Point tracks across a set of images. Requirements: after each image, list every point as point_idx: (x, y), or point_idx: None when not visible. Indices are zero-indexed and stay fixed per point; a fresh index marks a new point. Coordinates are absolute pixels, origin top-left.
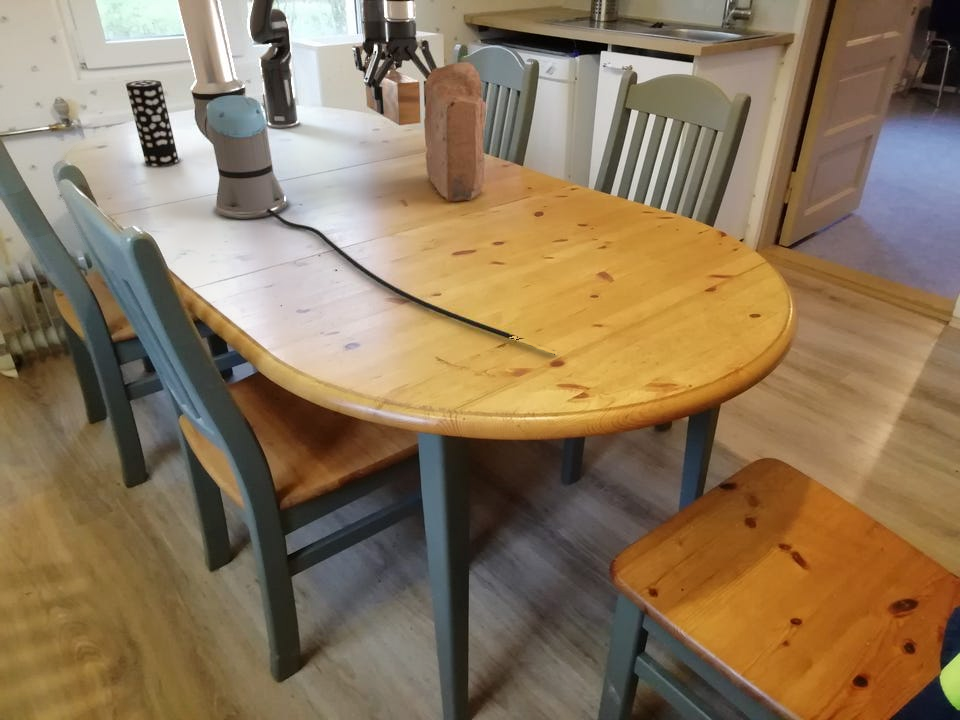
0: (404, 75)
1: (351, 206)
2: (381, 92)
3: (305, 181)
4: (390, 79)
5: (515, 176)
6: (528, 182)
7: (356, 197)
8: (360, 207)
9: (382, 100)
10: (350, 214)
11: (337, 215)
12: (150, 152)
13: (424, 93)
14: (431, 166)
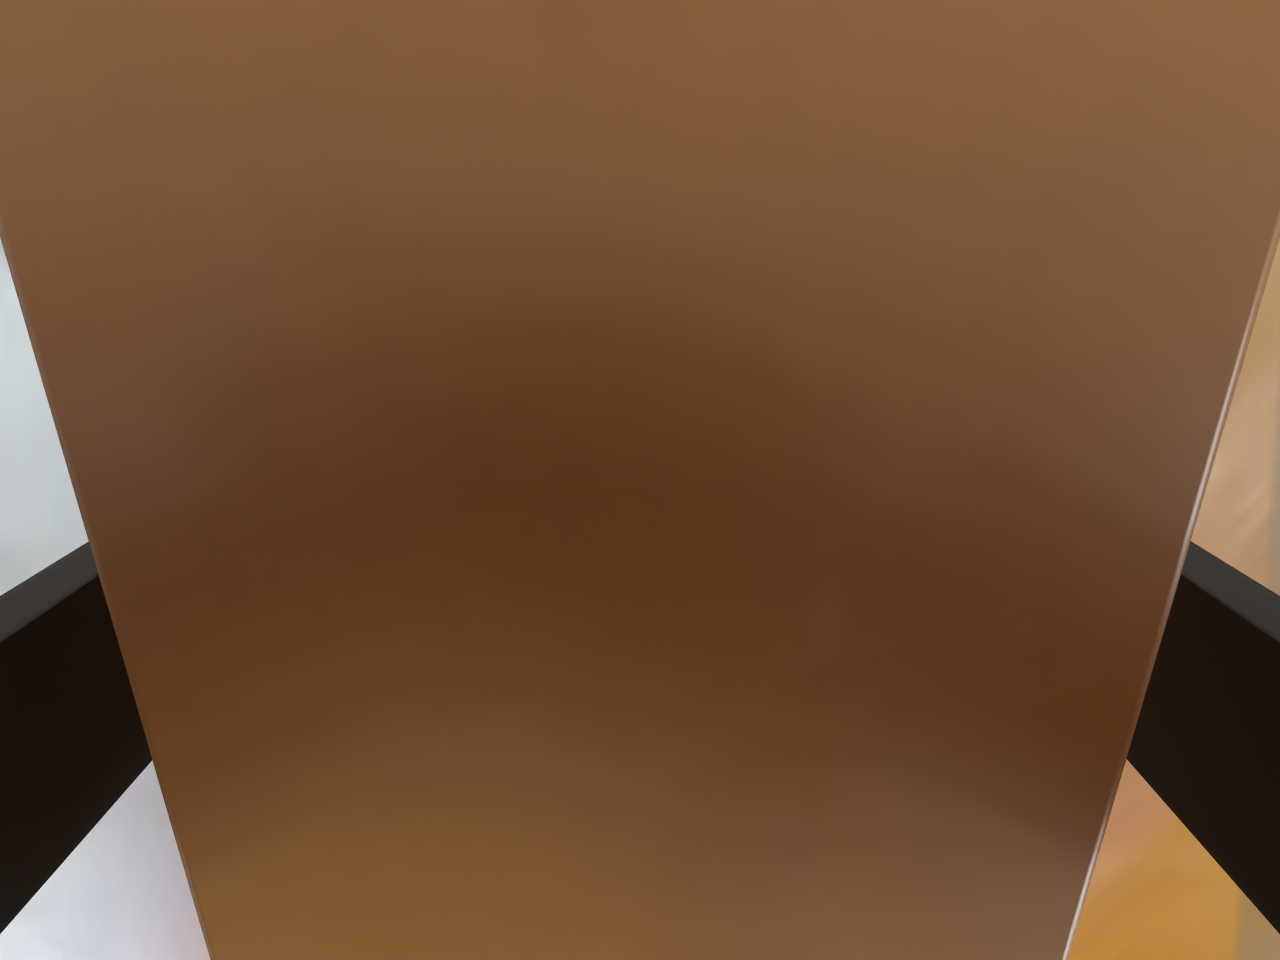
0: (1204, 252)
1: (110, 870)
2: (19, 882)
3: None
4: (214, 801)
5: (1112, 844)
6: (1094, 934)
7: (153, 779)
8: (154, 896)
9: (146, 754)
10: (95, 944)
11: (32, 933)
12: None
13: (1179, 594)
14: None
